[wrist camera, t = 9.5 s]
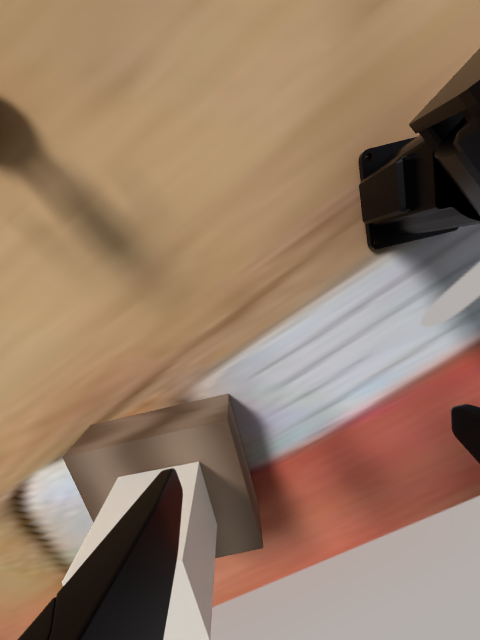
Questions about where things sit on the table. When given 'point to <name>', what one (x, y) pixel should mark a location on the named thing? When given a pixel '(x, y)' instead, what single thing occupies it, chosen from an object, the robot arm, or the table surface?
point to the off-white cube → (193, 553)
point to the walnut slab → (175, 462)
